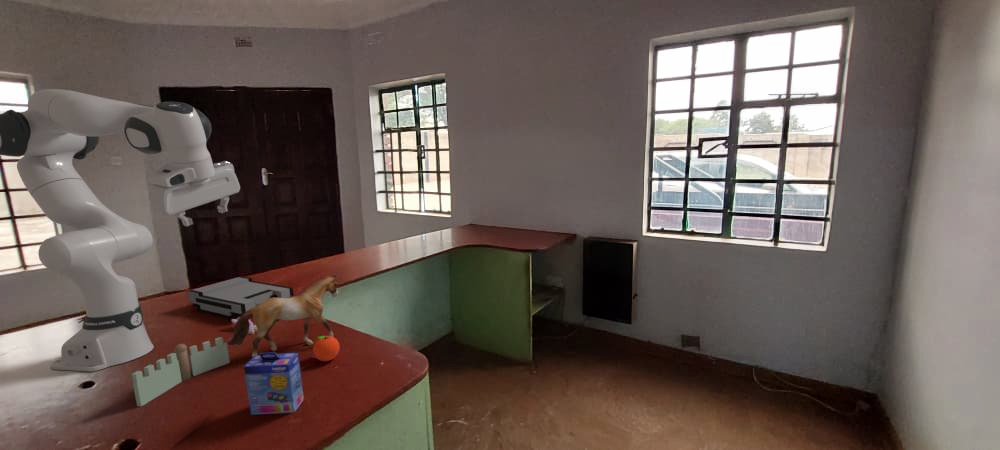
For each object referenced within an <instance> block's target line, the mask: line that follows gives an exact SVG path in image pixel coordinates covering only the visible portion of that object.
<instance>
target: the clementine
mask: <svg viewBox="0 0 1000 450" xmlns="http://www.w3.org/2000/svg"><path fill="white" fill-rule="evenodd" d="M313 344H314V345H313V349H312V352H313V355H314V357H315V358H316V359H317V360H319V361H321V362H329V361H331V360H333V359H334V358H336V356H337V355H338V354H339V352H340V349H341V347H340V343H339V341H338V338H336V337H334V336H333V337H332V336H330V335H321V336H318V337H316V338H315V339H314V341H313Z"/></svg>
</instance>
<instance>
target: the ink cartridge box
mask: <svg viewBox="0 0 1000 450" xmlns="http://www.w3.org/2000/svg"><path fill="white" fill-rule="evenodd" d="M243 370H244V376H245V383H246V391H247V398H248V403H249V411H250V416H256V415H257V416H258V415H271V414H272V415H275V414H276V415H277V414H294V413H295V412H296V411H297V409H298V408H299V407H300V406H301V404H302V402H304V400H305V397H304V389H303V382H302V375H301V374H302V373H301V366H300V359H299V353H298V352H290V353H289V352H287V353H277V352H276V351H272V352H258V354H257V355H255V356H254V357H252V358H251V359H250V360H249V361H248V362H247V363H245V365H244V366H243Z"/></svg>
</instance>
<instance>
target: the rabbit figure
mask: <svg viewBox="0 0 1000 450" xmlns="http://www.w3.org/2000/svg"><path fill="white" fill-rule="evenodd" d="M239 318H240V317H239ZM239 318H237V319H239ZM237 319H230V320H231V323H232V324H234V325H235V324H236V322H237V321H238V320H237ZM255 333H256V334H258V328H257V327H256V325H255V324H254V322H252V321H251V318H250V319H249V330H248V334H247V335H252V336H254V335H255Z"/></svg>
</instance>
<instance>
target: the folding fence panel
mask: <svg viewBox="0 0 1000 450" xmlns="http://www.w3.org/2000/svg"><path fill="white" fill-rule="evenodd" d="M166 359H167V362H166ZM155 366H156V369H155ZM143 370H144V375H143V371H142V370H136V371H135V372H133V373H131V378H132V387H133V390H134V391H133V393H134V396H135V402H136V407H143V406H145V405H146V404H148V403H149V402H151V401H153V400H155V399H156V398H157V397H159V396H161V395H163V394H165V393H166V392H167V391H169V390H170V389H172V388H174V387H175V386H177V385H178V384H180V383H182V382H183V381H182V379H181V373H180V367H179V361H178V360H177V356H176V353H175V352H171V353H169V354H167V355H166V358H159V359H158V360H155V365H154V364H148V365H147V366H144V367H143Z"/></svg>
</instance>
